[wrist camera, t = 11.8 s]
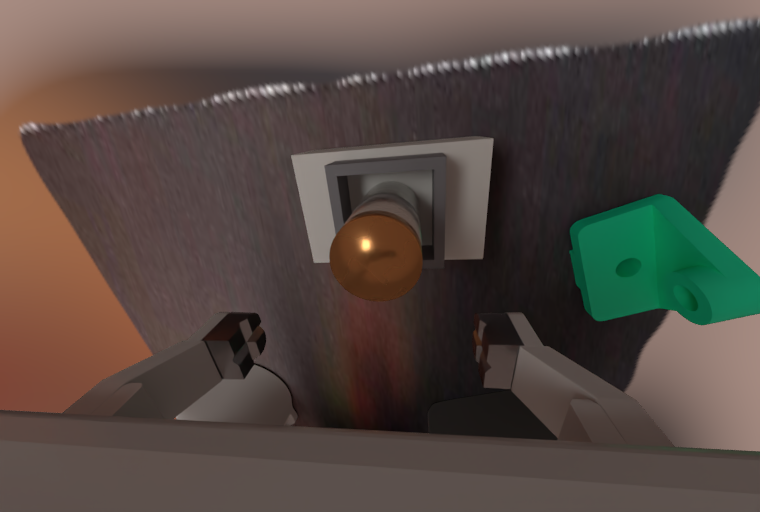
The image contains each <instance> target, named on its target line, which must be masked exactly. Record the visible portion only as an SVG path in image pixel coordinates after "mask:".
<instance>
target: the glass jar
mask: <svg viewBox="0 0 760 512" xmlns="http://www.w3.org/2000/svg"><path fill="white" fill-rule="evenodd" d="M329 260H330V266H331V269H332V272H333V274H334V276H335V278H336V279H337V281H338V282H339V283H340V284H341V285H342V286H343V287H344V288H345V289H346V290H347V291H348V292H350V293H351V294H353V295H355V296H357V297H359V298H362V299H365V300H370V301H389V300H393V299H396V298H398V297H400V296H402V295H404V294H406V293H407V292H408V291H410V290H411V289H412V288H413V286H414V285H415V284H416V283H417V281H418V279H419V277H420V275H421V271H422V265H423V259H422V241H421V223H420V206H419V201H418V199H417V197H416V195H415V193H414V192H413V191H412V190H411V189H410V188H409V187H408V186H406V185H405V184H403V183H400V182H397V181H385V182H381V183H378V184H377V185H375V186H373V187H372V188H371V189H370V190H369V191H368V192H367V194H366V195H365V196H364V198H363V199H362V201H361V202H360V203H359V205H358V206H357V207H356V209H355V210H354V211H353V213H352V214H351V215H350V217H349V218H348V220H347V221H346V222H345V224H344V225H343V226H342V228H341V229H340V230H339V232H338V233H337V234H336V236H335V238H334V239H333V241H332V244H331V247H330V253H329Z"/></svg>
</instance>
